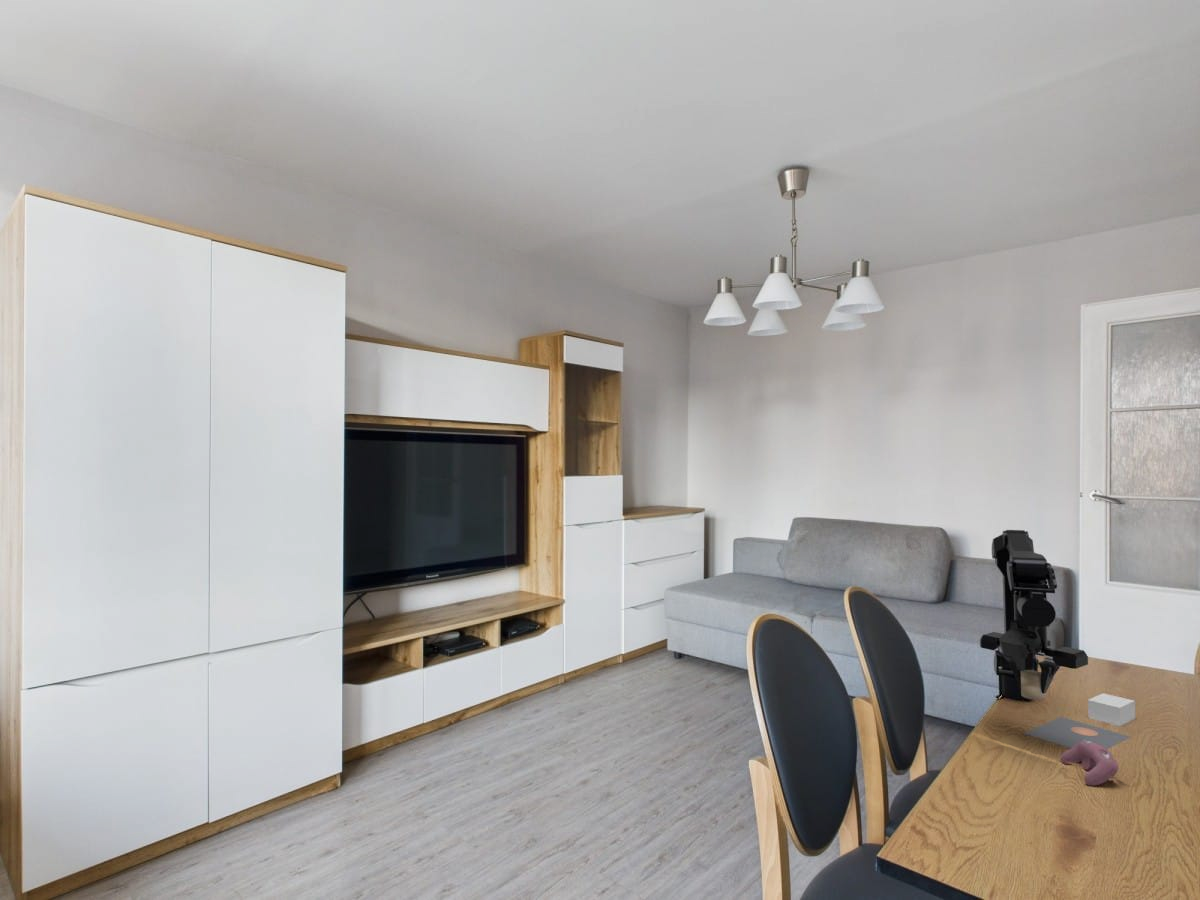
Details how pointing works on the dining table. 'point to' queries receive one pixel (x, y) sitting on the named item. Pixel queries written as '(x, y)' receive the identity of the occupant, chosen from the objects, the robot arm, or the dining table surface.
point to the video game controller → (1092, 761)
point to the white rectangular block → (1111, 709)
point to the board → (1075, 733)
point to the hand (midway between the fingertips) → (1032, 690)
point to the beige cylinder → (1031, 685)
